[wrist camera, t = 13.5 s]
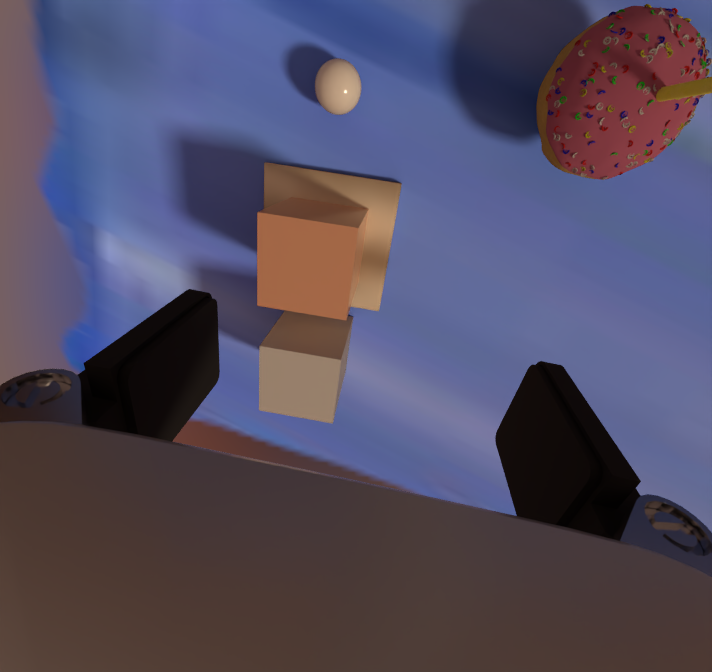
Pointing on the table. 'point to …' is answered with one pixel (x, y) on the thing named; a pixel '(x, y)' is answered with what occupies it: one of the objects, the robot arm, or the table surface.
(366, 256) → the birch board
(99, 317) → the table surface
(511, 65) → the table surface
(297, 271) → the peach colored cube
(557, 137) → the cupcake
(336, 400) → the beige block
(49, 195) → the table surface
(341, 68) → the cream marble
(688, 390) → the table surface
